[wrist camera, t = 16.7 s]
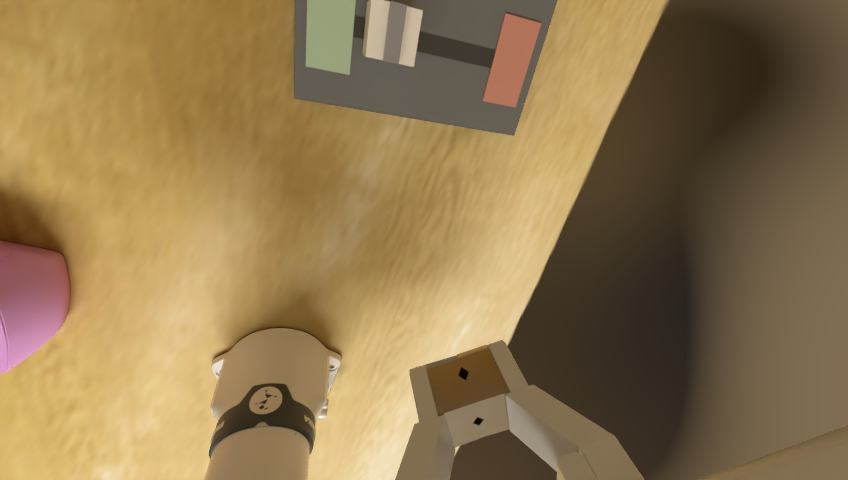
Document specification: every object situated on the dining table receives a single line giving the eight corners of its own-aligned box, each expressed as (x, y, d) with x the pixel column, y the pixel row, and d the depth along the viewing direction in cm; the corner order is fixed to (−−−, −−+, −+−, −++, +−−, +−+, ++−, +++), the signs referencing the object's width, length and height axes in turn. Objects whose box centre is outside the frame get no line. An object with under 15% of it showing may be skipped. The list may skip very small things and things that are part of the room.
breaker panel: (503, 129, 42) (514, 136, 39) (297, 93, 35) (293, 98, 32) (544, -8, 35) (561, -11, 32) (299, -84, 28) (295, -97, 26)
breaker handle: (404, 62, 32) (415, 67, 27) (362, 53, 31) (366, 57, 26) (411, 13, 30) (425, 9, 25) (367, 2, 29) (372, -5, 24)
